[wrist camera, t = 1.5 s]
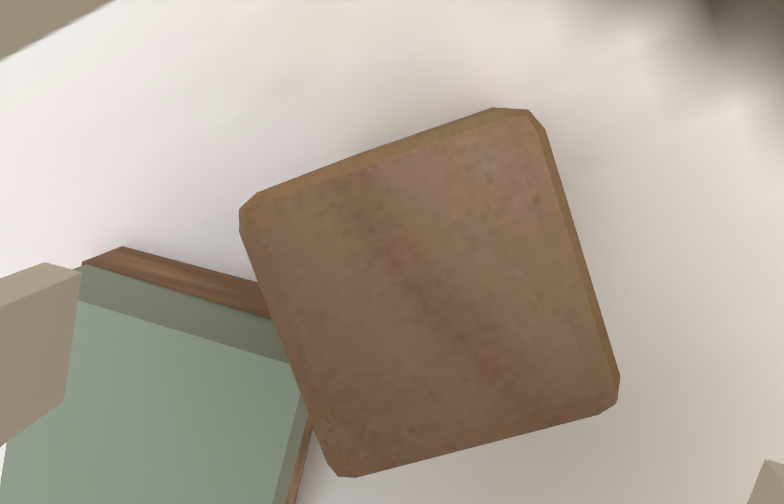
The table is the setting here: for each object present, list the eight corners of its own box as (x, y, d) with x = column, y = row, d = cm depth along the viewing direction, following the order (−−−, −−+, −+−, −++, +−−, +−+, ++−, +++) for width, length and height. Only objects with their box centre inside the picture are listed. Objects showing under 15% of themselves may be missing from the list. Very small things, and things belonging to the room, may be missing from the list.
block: (397, 319, 43) (328, 497, 23) (341, 159, 41) (216, 207, 22) (561, 270, 41) (635, 418, 21) (509, 101, 39) (538, 96, 20)
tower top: (271, 555, 42) (243, 614, 37) (48, 483, 42) (-8, 532, 38) (328, 336, 38) (306, 369, 34) (86, 263, 39) (31, 286, 34)
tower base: (295, 503, 46) (274, 550, 42) (94, 444, 47) (49, 483, 42) (342, 303, 43) (325, 328, 38) (126, 244, 44) (82, 261, 39)
